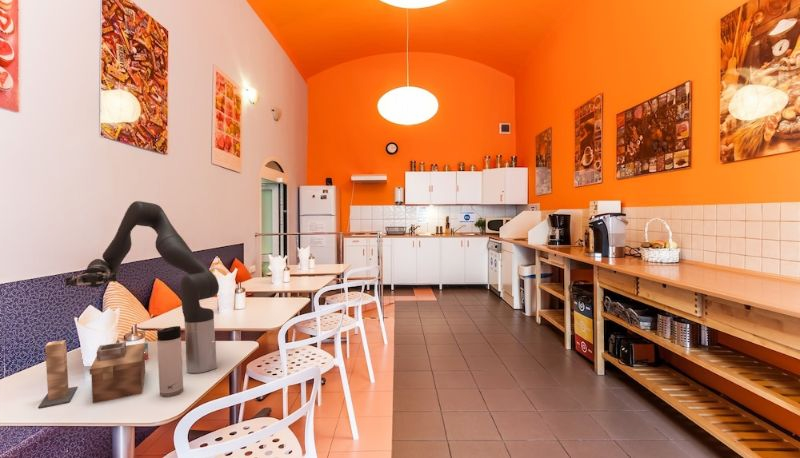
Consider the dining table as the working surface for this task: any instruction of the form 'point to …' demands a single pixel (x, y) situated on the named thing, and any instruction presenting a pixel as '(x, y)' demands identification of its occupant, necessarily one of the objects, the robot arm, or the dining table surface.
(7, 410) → the dining table surface
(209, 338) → the robot arm
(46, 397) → the rubber mat
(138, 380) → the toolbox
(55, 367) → the wooden block
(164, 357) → the travel mug
